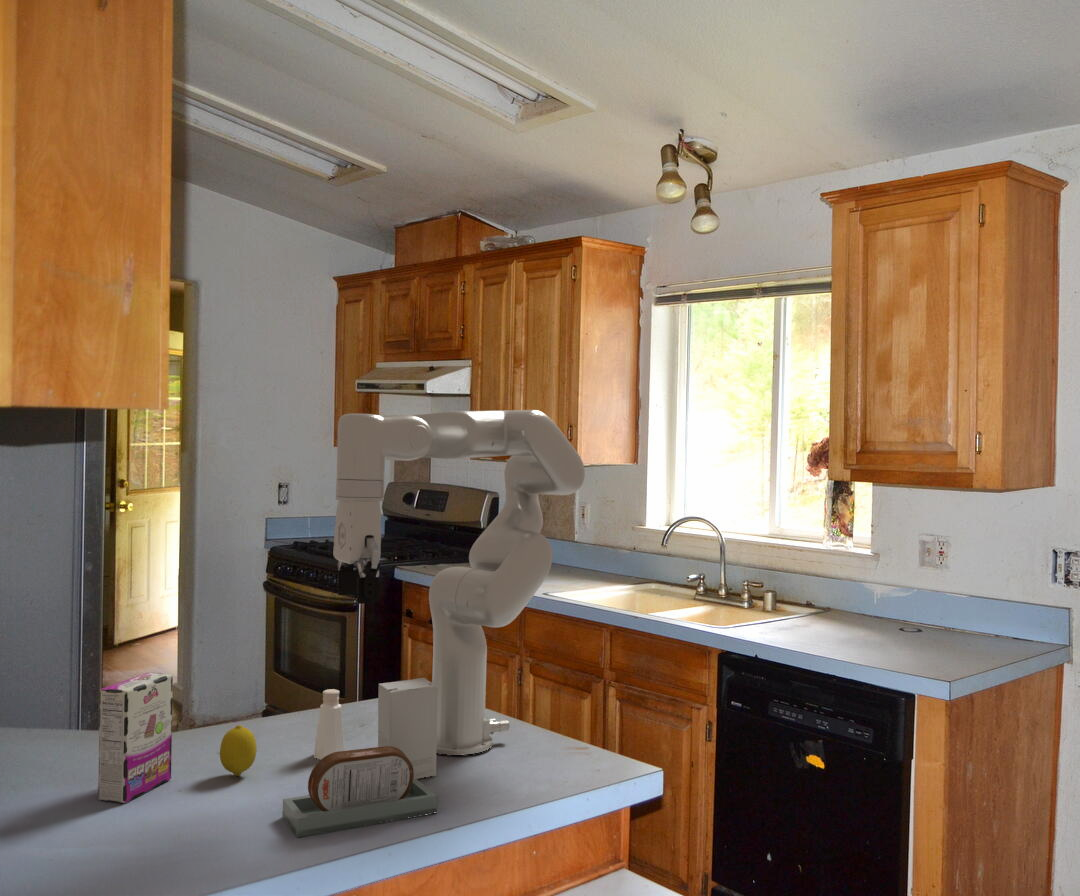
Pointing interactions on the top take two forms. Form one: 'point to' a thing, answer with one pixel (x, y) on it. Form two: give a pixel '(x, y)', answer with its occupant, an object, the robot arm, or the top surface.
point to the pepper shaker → (329, 726)
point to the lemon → (238, 750)
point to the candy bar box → (135, 736)
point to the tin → (360, 778)
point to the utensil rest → (355, 812)
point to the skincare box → (410, 722)
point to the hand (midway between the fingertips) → (357, 598)
